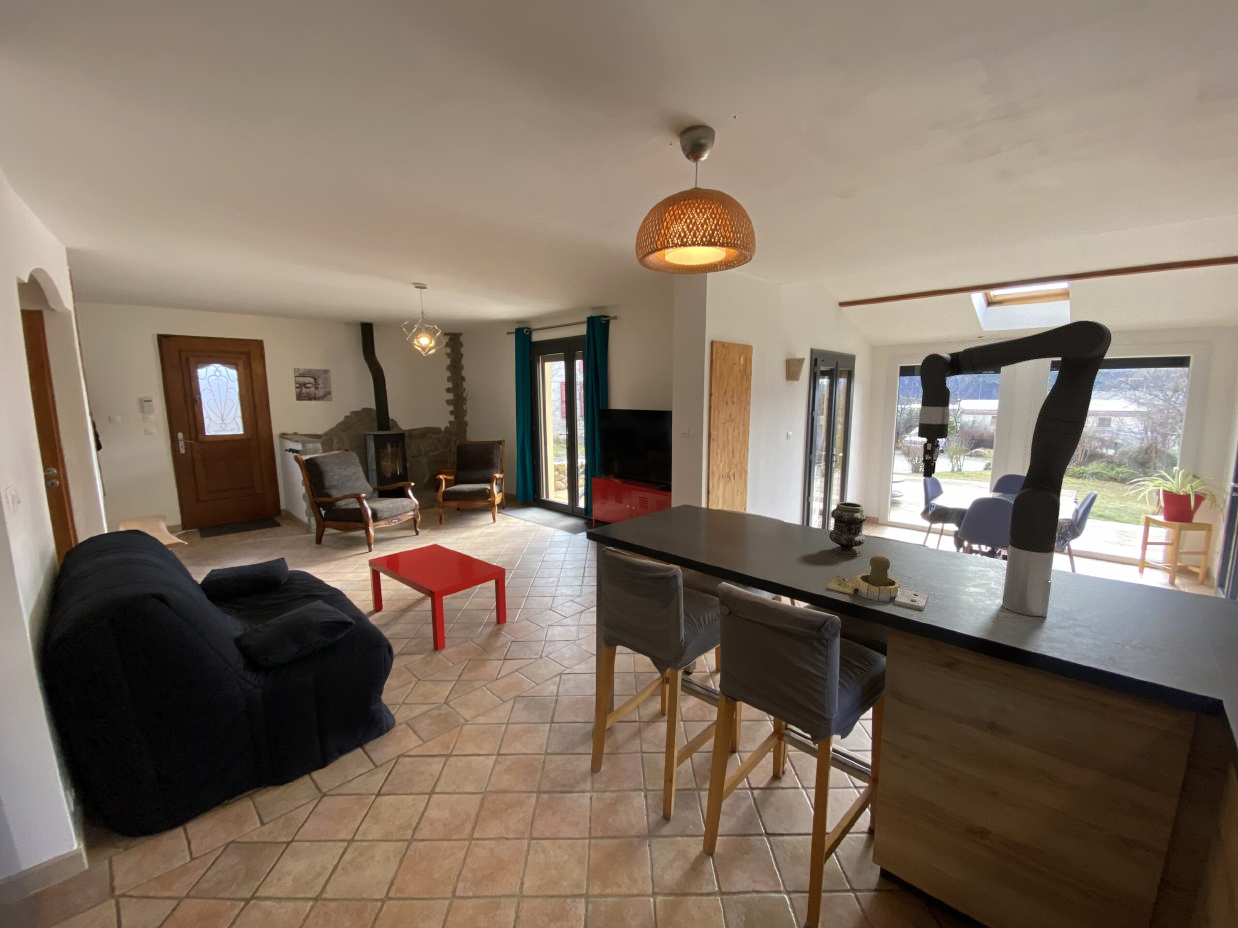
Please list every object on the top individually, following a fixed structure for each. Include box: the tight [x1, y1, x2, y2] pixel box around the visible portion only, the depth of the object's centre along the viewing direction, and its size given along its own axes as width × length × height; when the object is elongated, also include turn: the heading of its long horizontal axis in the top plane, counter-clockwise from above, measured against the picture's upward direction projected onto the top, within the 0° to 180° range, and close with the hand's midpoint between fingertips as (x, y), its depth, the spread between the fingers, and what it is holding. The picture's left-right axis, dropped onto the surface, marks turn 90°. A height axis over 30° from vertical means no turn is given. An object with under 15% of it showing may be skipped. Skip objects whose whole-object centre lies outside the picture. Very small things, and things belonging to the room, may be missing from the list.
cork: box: [868, 555, 891, 587], centre depth 143 cm, size 6×6×11 cm
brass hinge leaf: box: [827, 572, 901, 596], centre depth 146 cm, size 18×11×4 cm, turn 52°
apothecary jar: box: [828, 501, 868, 557], centre depth 180 cm, size 12×12×18 cm
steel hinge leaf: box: [855, 581, 929, 612], centre depth 142 cm, size 18×11×2 cm, turn 52°
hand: (929, 475), depth 150 cm, fingers open, 8 cm apart
